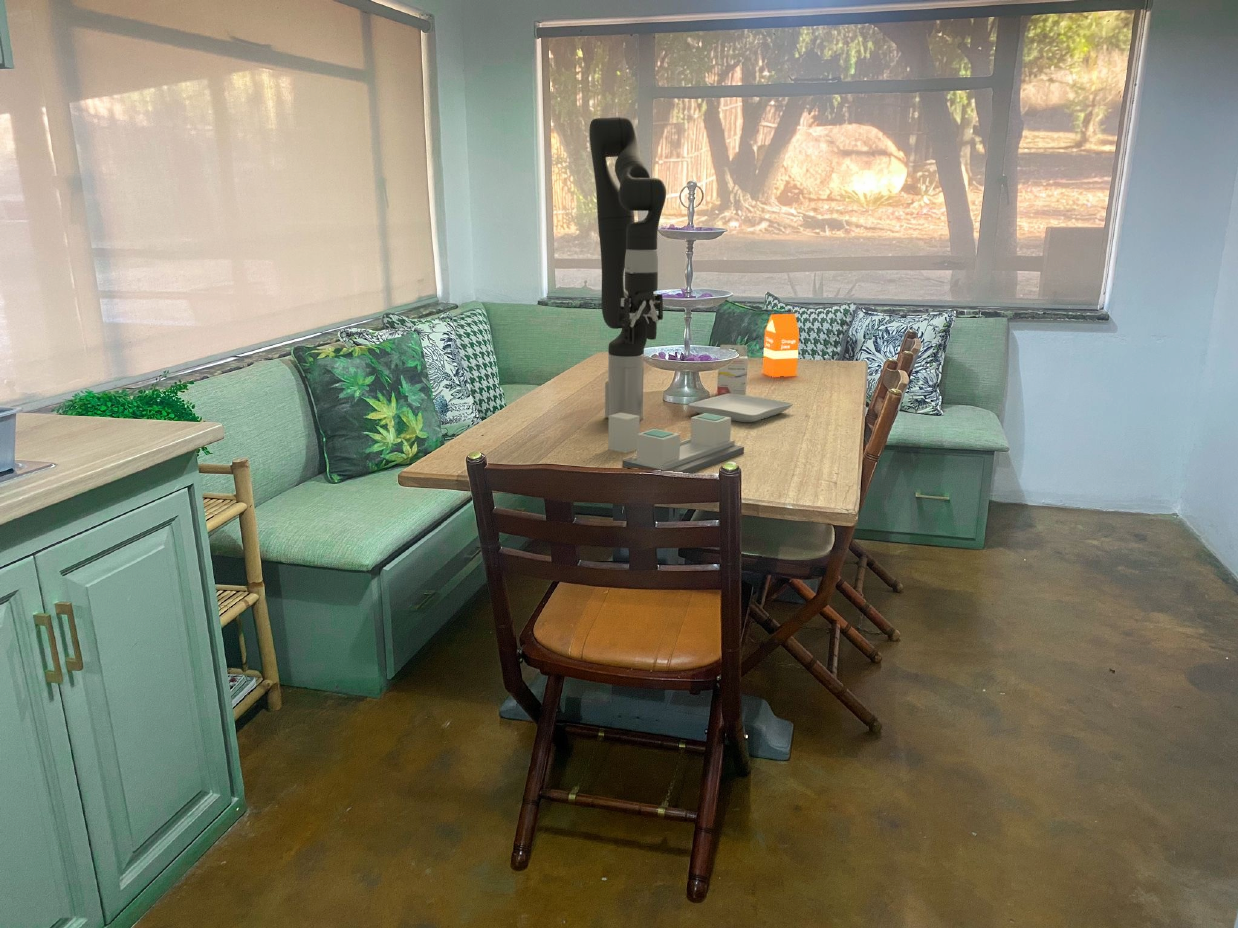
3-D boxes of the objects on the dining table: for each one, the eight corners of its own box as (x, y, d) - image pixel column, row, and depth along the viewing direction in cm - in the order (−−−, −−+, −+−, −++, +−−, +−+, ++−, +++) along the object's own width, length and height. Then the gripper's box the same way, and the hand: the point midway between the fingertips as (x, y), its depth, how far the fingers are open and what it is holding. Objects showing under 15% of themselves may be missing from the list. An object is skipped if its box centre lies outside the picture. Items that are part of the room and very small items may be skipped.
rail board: (622, 467, 195) (622, 430, 193) (693, 442, 215) (694, 409, 213) (674, 479, 186) (675, 442, 184) (743, 453, 206) (745, 418, 204)
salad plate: (728, 403, 259) (728, 391, 258) (793, 414, 246) (794, 401, 245) (685, 415, 243) (686, 403, 242) (753, 428, 230) (754, 415, 229)
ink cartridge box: (717, 396, 266) (719, 347, 262) (716, 393, 271) (718, 344, 266) (746, 397, 265) (748, 347, 261) (745, 393, 270) (748, 345, 266)
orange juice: (762, 373, 303) (765, 313, 297) (785, 371, 305) (789, 312, 300) (772, 377, 296) (776, 316, 290) (796, 375, 298) (800, 315, 292)
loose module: (608, 449, 209) (608, 415, 207) (620, 445, 212) (620, 412, 210) (626, 453, 206) (627, 419, 203) (639, 449, 209) (639, 416, 207)
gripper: (646, 268, 211) (645, 336, 216) (608, 270, 201) (608, 343, 205) (672, 269, 207) (671, 339, 211) (635, 272, 196) (634, 346, 201)
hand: (640, 341), depth 208 cm, fingers open, 8 cm apart
